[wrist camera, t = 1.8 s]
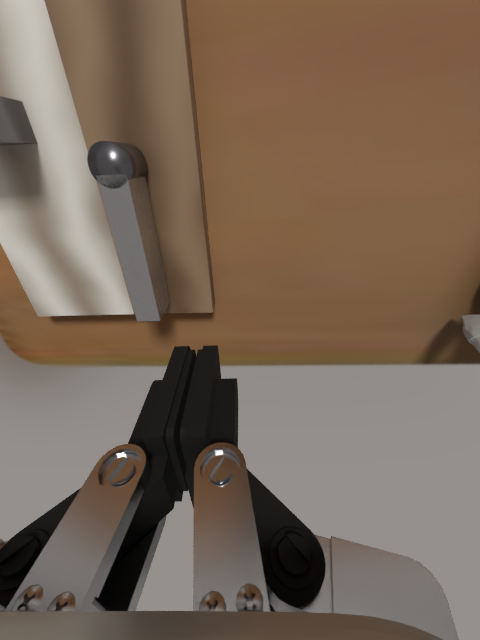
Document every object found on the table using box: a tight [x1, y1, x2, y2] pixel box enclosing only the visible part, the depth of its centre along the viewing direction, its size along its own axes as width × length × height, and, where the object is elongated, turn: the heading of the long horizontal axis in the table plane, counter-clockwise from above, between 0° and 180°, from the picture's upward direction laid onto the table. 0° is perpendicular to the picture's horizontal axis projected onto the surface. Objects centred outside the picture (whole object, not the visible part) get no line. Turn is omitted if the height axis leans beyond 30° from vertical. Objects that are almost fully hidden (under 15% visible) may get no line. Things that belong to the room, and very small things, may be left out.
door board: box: [0, 0, 215, 316], centre depth 19 cm, size 18×25×6 cm
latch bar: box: [87, 141, 170, 321], centre depth 21 cm, size 13×3×4 cm, turn 2°
